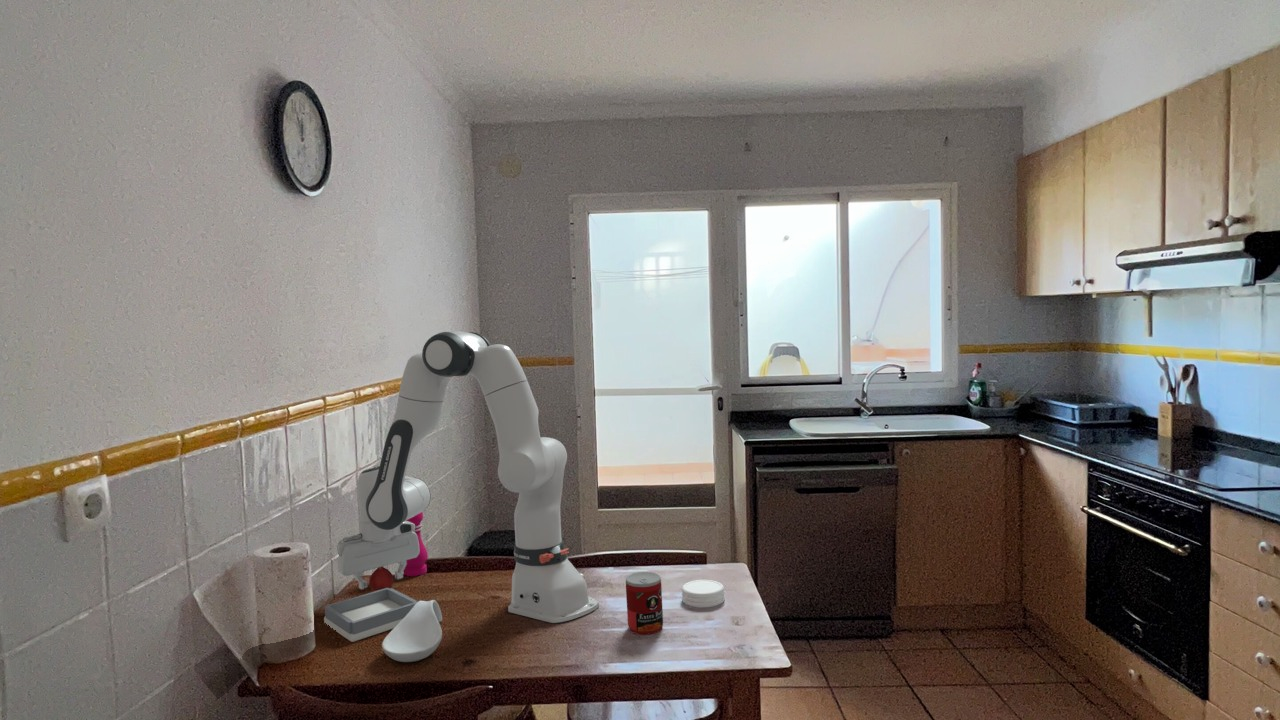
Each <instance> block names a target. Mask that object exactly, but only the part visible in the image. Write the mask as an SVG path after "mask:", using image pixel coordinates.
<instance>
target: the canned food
mask: <svg viewBox="0 0 1280 720" xmlns="http://www.w3.org/2000/svg"><path fill="white" fill-rule="evenodd" d="M661 578H662V577H661V575H660V574H659V573H656V572H651V571H638V572H634V573H631V574H629V575H627V576H626V577H625V595H626V614H627V615H626V616H627V626H628V629H629V631H630V632H631V633H632V634H633V633H634V634H635V635H641V636H642V635H643V636H646V635H653V634H654V635H655V634H657V633H658V632H661V631H662V629H663V626H664V615H663V613H664V611H663V593H662V592H663V591H662V579H661Z"/></svg>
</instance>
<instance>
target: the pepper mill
mask: <svg viewBox="0 0 1280 720" xmlns="http://www.w3.org/2000/svg"><path fill="white" fill-rule="evenodd" d="M423 519H424V513H423V511H422V512H421V513H419V514H417V515H415V516H414V517H412V518H410V519H408V520H406V521H409V522H411V523H413V524H415V530H414V531H413V532H415V533H416V534H417V537H418V541H419V550H420V552H419V555H418V556H417V557H416V558H412V559H409V560H406V561H407V564H406V567H405V569H404V571H403V576H405V575H407V576H406V577H409V576H410V577H419V576H422V575H425V574H426V573H427V571H428V566H427V564H426V562H427V561H428V559H429V555H428V554H429V553H428V550H427V548H426V545H424V542H423V539H422V535H421V530H422V529H423V527H422V526H423V524H422V521H423ZM418 575H419V576H418Z"/></svg>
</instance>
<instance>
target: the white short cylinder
mask: <svg viewBox="0 0 1280 720" xmlns="http://www.w3.org/2000/svg"><path fill="white" fill-rule="evenodd" d="M681 596H682V597H681V600H682V603H684V605H686V606H689V607H692V608H698V609H699V608H700V609H701V608H702V609H703V608H705V609H707V608H714V607H717V606H719V605H721V604H723V603H724V602H725V598H726V597H725V587H724V585H723V584H722V583H721V582H719V581H716V580H712V579H696V580H690V581H688V582H686V583H684V584H683V585H682V586H681Z"/></svg>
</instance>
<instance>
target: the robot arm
mask: <svg viewBox="0 0 1280 720" xmlns="http://www.w3.org/2000/svg"><path fill="white" fill-rule="evenodd" d="M465 376H472V377H473V378H474V379H475V380H476V381H477V382H478V384H479V387H480V389H481V391H482V395H483V397H484V398H483V399H484V400H485V403H486V406H487V409H488V411H489V413H490V417H491V419H492V422H493V425H494V429H495V434H496V438H497V439H496V440H497V448H498V456H499V462H498V465H497V476H498V480H499V482H500V483H501V485H502V486H503V487H504V488H505V489H506V490H508V491H509V492H513V493H517V494H518V499H517V502H516V506H515V508H514V513H513V517H514V536H515V544H514V546H513V555H514V561H515V568H514V570H513V573H512V575H511V576H512V577H511V603H510V604H509V605H508V606H507V611H508V613H511V614H515V615H519V616H522V617H523V616H524V617H527V618H532V619H535V620H539V621H542V622H547V623H551V624H558V623H563V622H567V621H571V620H574V619H578V618H580V617H583V616H586V615H588V614H590V613H592V612H593V611H595V610H597V609H598V608H599V606H600V602H599V601H598V600H596V598H593V597H591V596H590V595H589V591H588V585H587V584H588V583H587V582H586V579H585V575H584V573H581V572H579V571H578V570H577V569H576V567H575V566H574V565H573V563H572V562H571V561H570V560H569V559H568V554H569V553H570V551H569V550H570V549H569V547H566V545H565V542H564V541H563V539H562V524H561V523H562V521H561V503H562V495H563V486H564V476H565V468H566V465H567V461H568V453H567V450H566V447H565V445H564V444H563V443H562V442H561V441H560V440H558V439H556V438H553V437H547V436H546V437H545V436H541V433H540V426H539V414H540V411H539V407H538V405H537V402H536V399H535V397H534V395H533V392H532V389H531V386H530V384H529V381H528V378H527V376H526V373H525V372H524V369H523V367H522V365H521V364H520V361H519V360H518V358H517V356H516V354H515V353H514V351H513V349H512V348H511V347H509V346H508V345H505V344H502V343H501V344H499V343H497V344H496V343H495V344H491V342H490V341H489V339H487V338H486V337H485V336H483V335H481V334H480V333H477V332H473V331H470V332H469V331H468V332H467V331H462V330H454V331H453V330H452V331H441V332H438V333H436V334H434V335H432V336H431V337H430V338H429V339H427V340H426V341H425V343H424V345H423V347H422V352H420V353H416V354H414V355H412V356H411V357H409V359H408V360H407V363H406V365H405V368H404V371H403V374H402V377H401V382H400V385H399V391H398V397H397V402H396V403H397V404H396V409H395V413H394V416H393V420H392V421H391V422H392V423H391V425H390V428H389V430H388V433H387V435H386V440H385V443H384V446H383V451H382V455H381V459H380V463H379V465H378V466H375V467H371V468H370V467H369V468H367V469H364V470H363V471H361V472H360V473H359V476H358V478H357V483H356V484H357V485H356V486H357V488H356V490H357V491H356V494H357V495H356V496H357V499H356V500H357V506H358V508H359V516H358V517H359V518H358V527H359V529H358V530H359V533H357V534H353V535H350V536H345V537H343V538H342V539H341V540H340V541H338V543H337V545H336V547H337V554H338V557H337V558H338V559H337V560H338V561H337V568H338V570H337V571H338V572H339V573H340V574H341V575H343V576H345V577H348V576H349V577H350V576H351V575H353V577H354V578H355V580H357V582H358V589H360V590H361V591H362V590H365V589H368V581H367V580H366V579H362V578H361V577H362V576H363V572H368V571H370V570H374V569H375V570H376V569H377V568H379V567H382V566H383V567H385V566H390V565H392V564H396V563H398V568H397V570H395V571H394V578H395V579H396V580H401V579H403V578H404V572H403V571H404V569H405V567H406V564H407V561H406V560H409V559H412V558H416V557H417V556H418V555H419V552H420V550H419V541H418V537H417V534H416V533H415V532H413V531H414V530H415V524H413V523H411V522H409V521H406V520H408V519H410V518H412V517H414V516H415V515H417V514H419V513H421V512H422V513H423V512H424V511H425V510H427V508H429V505H430V502H431V499H432V497H431V490H430V488H429V487H428V485H427V483H426V482H425V481H424V480H422V479H421V478H418V477H411V476H408V475H406V474H407V470H408V465H409V463H410V462H409V461H410V458H411V455H412V453H413V451H414V449H415V448H416V446H417V445H418V444H419V443H420V442H421V441H422V440H423V439H424V438H425V437H426V436H427V435H430V433H431V432H433V431H434V430H435V429H436V428H437V426H439V423H440V421H441V417H442V415H443V411H444V406H445V400H446V399H445V398H446V391H447V386H448V384H449V382H450V380H451V379H452V378H453V377H465Z"/></svg>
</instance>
